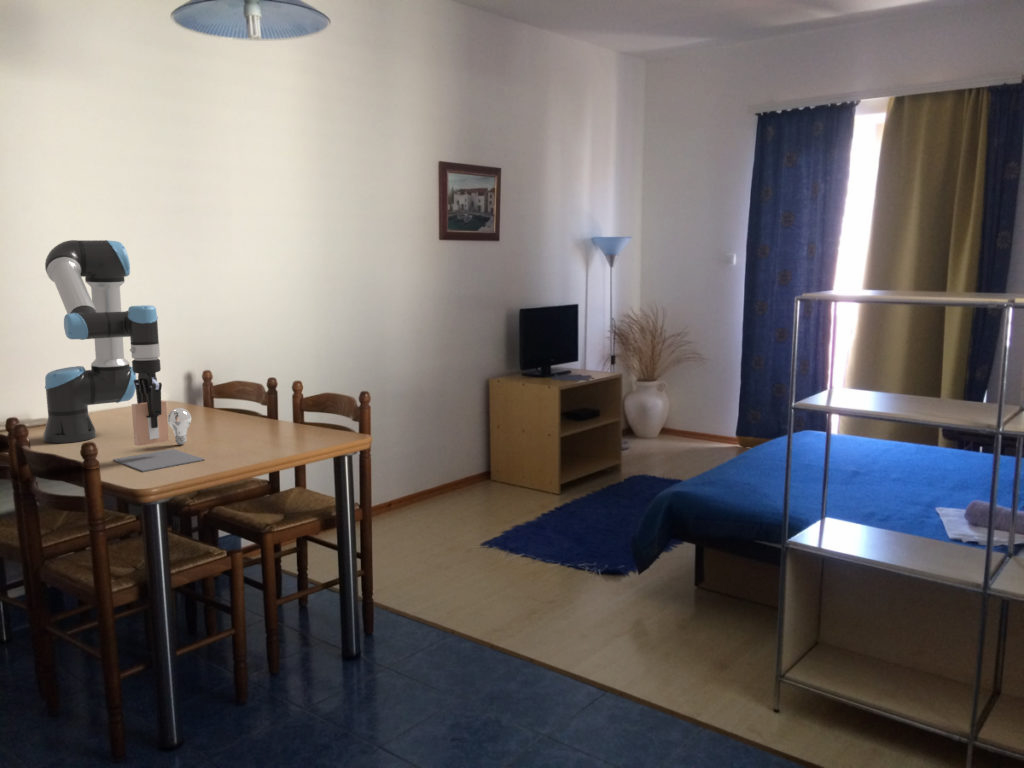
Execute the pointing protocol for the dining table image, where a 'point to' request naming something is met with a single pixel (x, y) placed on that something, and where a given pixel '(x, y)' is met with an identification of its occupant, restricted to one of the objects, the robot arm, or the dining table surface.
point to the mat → (158, 460)
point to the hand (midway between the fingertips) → (151, 437)
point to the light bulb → (179, 424)
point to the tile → (142, 424)
